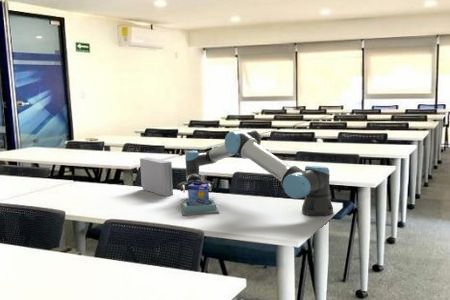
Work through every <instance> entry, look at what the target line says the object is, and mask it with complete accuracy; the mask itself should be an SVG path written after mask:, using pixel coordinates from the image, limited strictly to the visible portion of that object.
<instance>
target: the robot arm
mask: <svg viewBox="0 0 450 300" xmlns="http://www.w3.org/2000/svg"><path fill="white" fill-rule="evenodd" d="M261 143H262V137H261V134H260V133H259V132H258V131H257V130H256V129H253V128H246V129H238V130H232V131H229V132H228V133H226V136H225V138H224V144H221V145H219V146H217V147H215V148H213V149H210V150H207V151H203V152H199V151H198V150H187V151H186V152H185V180H186V181H182V182H180V183H177V185H176V189H177V191H178V190H179V191H180V192H183V193H184V194H185V192H186V189H188V185H190V184H194V181H200V182H201V184H208V189H209V191H210V192H212V189H213V188H216V182H213V181H210V180H207V179H205V180H204V181H203V180H202V179H201V176H200V167H203V166H207V165H212V164H213V165H214V164H216V163H217V162H219V161H221V160H223V159H226V158H229V157H231V156H234V155H238V156H239V157H241V158H242V159H244V160H245V159H249V160H250V161H252V162H253V163H254V164H256V165H257V166H259V167H260V168H262V170H264V171H266V172H267V173H269V174H270V175H271V176H273V177H274V178H276V179H277V180H278V181H280V185H281V186H282V189H284V193H285V194H286V195H287V196H289V197H290V198H293V199H302V198H304V200H303V204H302V206H301V213H302V214H304V215H308V216H316V217H323V216H329V215H332V214H333V213H334V207H333V205H332V200H331V198H330V169H329V168H328V167H327V166H323V165H321V166H319V165H305V167H304V170H302V169H301V168H300V167H298V166H297V165H289V164H288V163H286V162H285V161H283V160H282V159H280V158H279V157H278V156H276V155H274V154H273V153H271V152H270V151H268V149H266V148H264V147H262V146H261ZM195 183H199V182H195Z"/></svg>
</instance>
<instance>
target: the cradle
mask: <svg viewBox="0 0 450 300" xmlns="http://www.w3.org/2000/svg"><path fill="white" fill-rule="evenodd" d="M182 202H183V203H182V204H180V207H181V212H182V216H183V217H186V216H187V217H188V216H200V215H201V216H202V215H215V214H220V210H219V209H218V206H217V204H216V202H215V200H214V199H209V205H196V206H189V200H187V201H184V200H183V201H182Z"/></svg>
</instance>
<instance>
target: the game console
mask: <svg viewBox="0 0 450 300" xmlns="http://www.w3.org/2000/svg"><path fill="white" fill-rule="evenodd" d="M139 163H140V164H139V165H140V180H141V182H140V183H141V188H142V189H144V190H143V191H146V190H147V192H149V191H150V193H153V192H154V193H153V194H156V193H157V195H161V196H164V197H167V195H168V196H172V194H173V195H174V191H173V190H174V189H173V188H174V186H173V168H172V166H173V165H172V161H169V160H164V159H160V158H159V159H158V158H152V157H147V156H146V157H141V158H139Z"/></svg>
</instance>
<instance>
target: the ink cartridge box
mask: <svg viewBox="0 0 450 300" xmlns="http://www.w3.org/2000/svg"><path fill="white" fill-rule="evenodd" d="M195 182H199V183H195ZM209 191H210V190H209V188H208V184H201V182H200V181H194V184H190V185H188V188H187V195H188V201H189V206H196V205H209V200H210V195H209V193H210V192H209Z"/></svg>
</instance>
